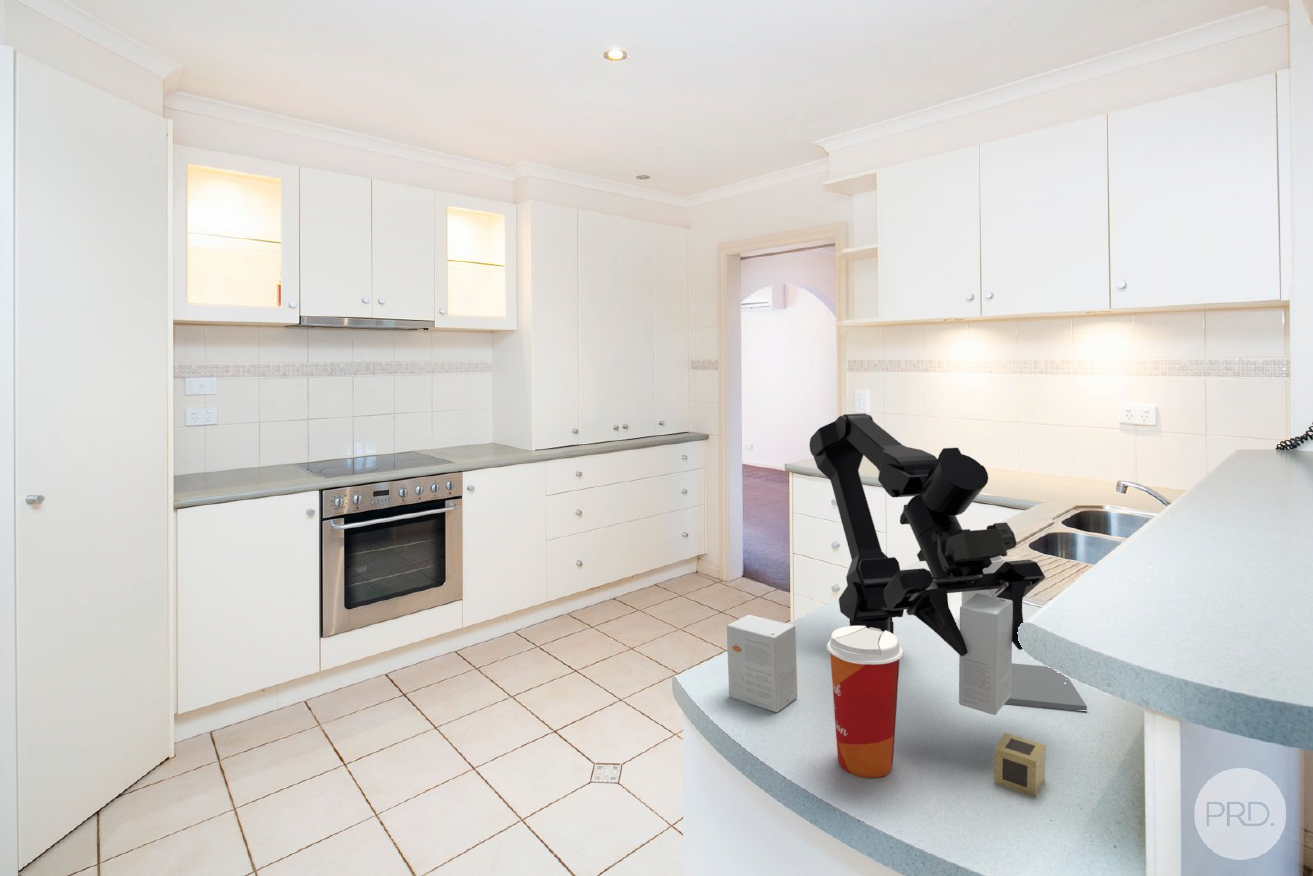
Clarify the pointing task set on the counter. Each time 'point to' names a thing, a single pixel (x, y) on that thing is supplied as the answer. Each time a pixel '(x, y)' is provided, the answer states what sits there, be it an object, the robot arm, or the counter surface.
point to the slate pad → (1043, 688)
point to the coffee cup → (865, 698)
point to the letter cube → (1019, 764)
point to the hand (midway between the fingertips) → (993, 651)
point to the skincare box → (986, 653)
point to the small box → (762, 662)
